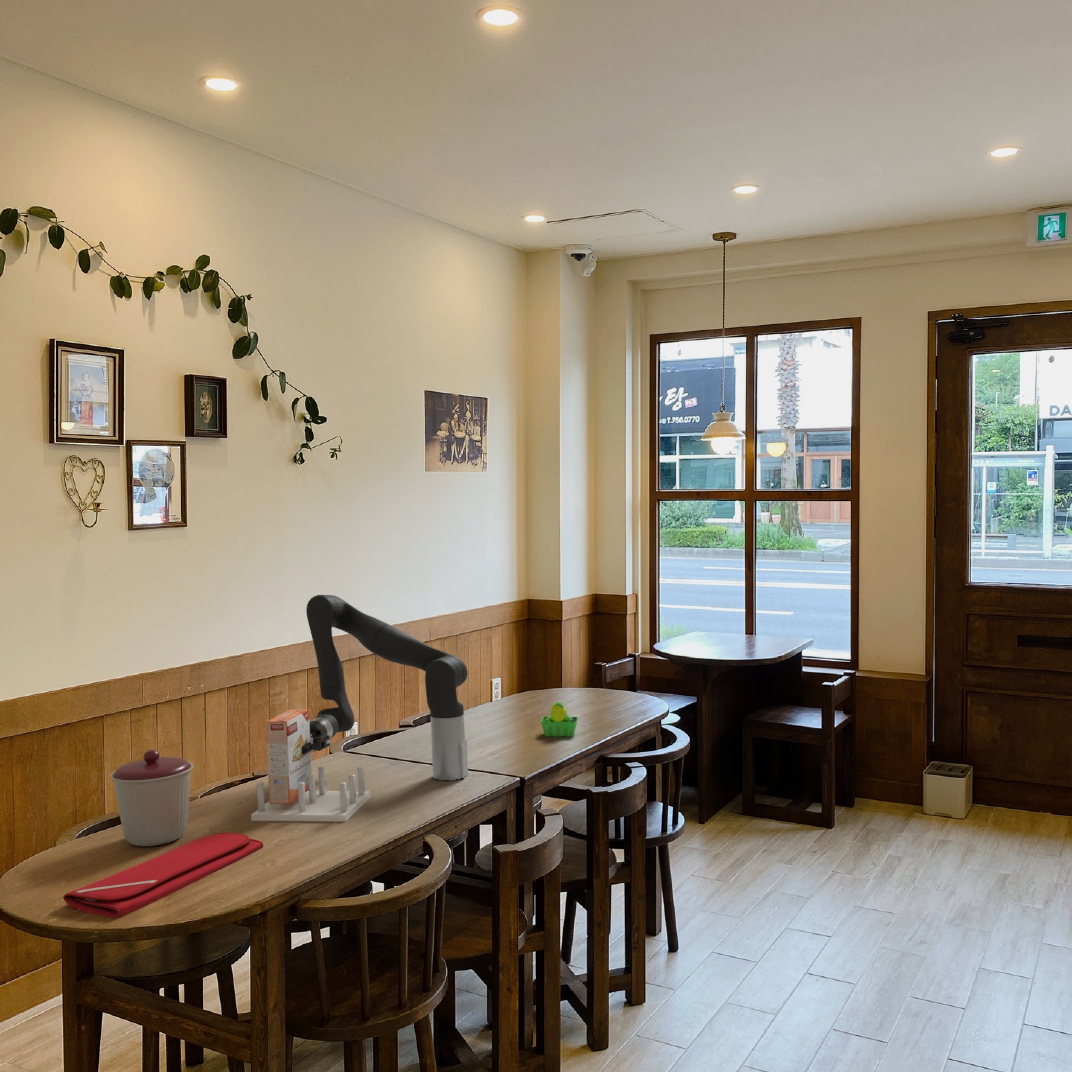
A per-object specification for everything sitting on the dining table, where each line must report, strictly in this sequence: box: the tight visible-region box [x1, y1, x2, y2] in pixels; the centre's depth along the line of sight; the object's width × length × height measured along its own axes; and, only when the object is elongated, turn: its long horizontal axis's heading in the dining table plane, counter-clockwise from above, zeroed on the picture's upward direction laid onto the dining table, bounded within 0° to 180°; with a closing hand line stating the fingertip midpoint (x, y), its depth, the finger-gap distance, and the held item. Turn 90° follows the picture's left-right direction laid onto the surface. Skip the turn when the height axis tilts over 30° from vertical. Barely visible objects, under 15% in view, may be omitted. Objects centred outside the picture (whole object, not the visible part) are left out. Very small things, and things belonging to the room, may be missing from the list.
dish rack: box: [250, 766, 372, 823], centre depth 255 cm, size 24×20×8 cm
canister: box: [109, 749, 194, 847], centre depth 235 cm, size 18×18×21 cm
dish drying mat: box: [63, 832, 264, 919], centre depth 212 cm, size 16×41×4 cm, turn 155°
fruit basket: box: [540, 701, 579, 738], centre depth 324 cm, size 11×9×11 cm
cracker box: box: [266, 708, 312, 804], centre depth 256 cm, size 14×6×21 cm, turn 170°
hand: (291, 750), depth 256 cm, fingers closed on cracker box, 6 cm apart
